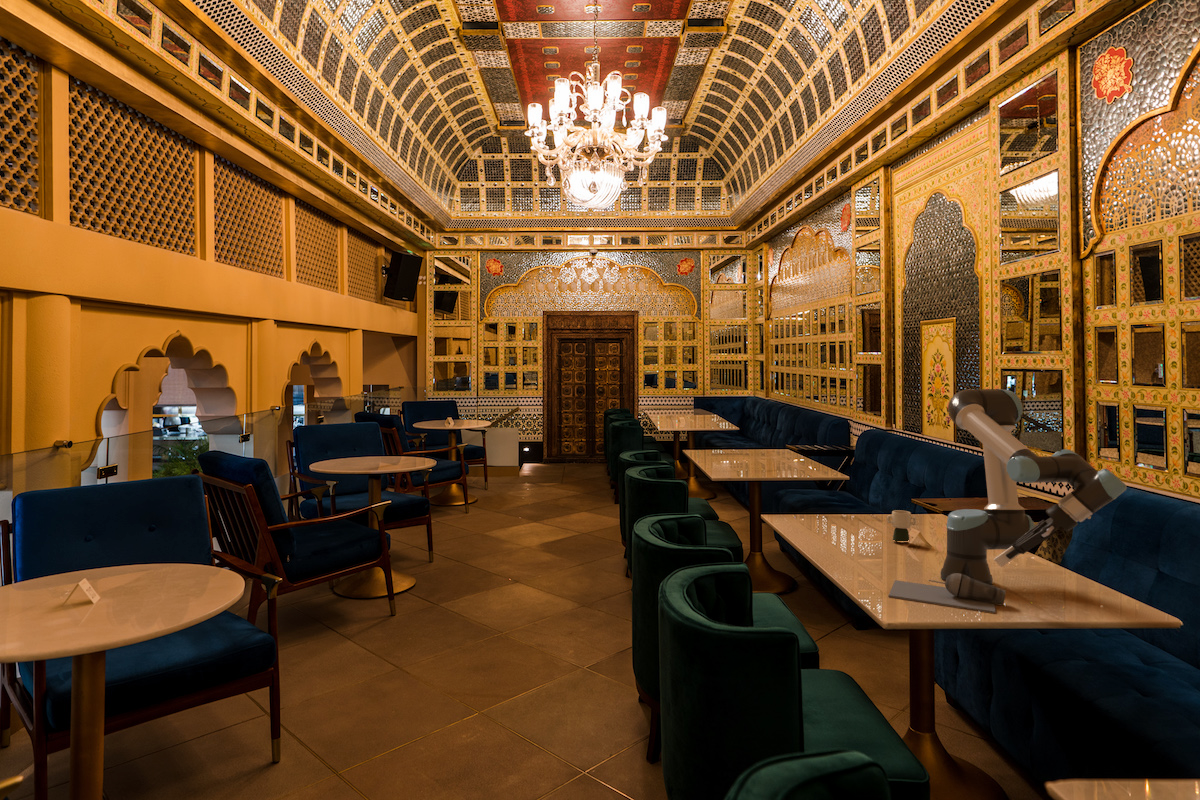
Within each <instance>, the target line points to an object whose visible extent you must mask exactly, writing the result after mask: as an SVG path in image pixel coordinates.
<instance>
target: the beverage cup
mask: <svg viewBox="0 0 1200 800" xmlns="http://www.w3.org/2000/svg"><path fill="white" fill-rule="evenodd" d="M928 582H933V583H937V584H943V585H944V587H946V589H947V590H948V591H949V592H950V593H951V594H952V595H954V596H957V597H961V598H969V599H974V600H978V601H983V602H988V603H993V604H995V605H999V606H1004V603H1005V598H1006V593H1007V592H1006V590H1005V589H1002V588H1000V587H998V586H995V585H993V584H992V585H989V584H987V583H984V582H981V581H978V580H975V579H972V578H970V577H968V576H966V575H963V574H959V573H954V574H951V575H949V576H948V577H947V578H946V581H944V582H943V581H938V580H935V579H934V580H933V579H928Z"/></svg>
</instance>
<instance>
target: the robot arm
mask: <svg viewBox="0 0 1200 800" xmlns="http://www.w3.org/2000/svg"><path fill="white" fill-rule="evenodd" d="M947 412H948V416H949V418H950V419H951V421H952V422H953V423H954V424H955V425H956V426H957V427H958V428H960V429H962V430H966V431H967V432H968V433H970V434H971V435H972V436H974V438H975V439H977V440H978V441H979V442H980V443H981V444H982V447H983V448H982V449H983V460H984V469H985V470H984V471H985V481H986V489H987V490H986V491H987V501H988V503H987V504H986V505H985V506H984V508H983V509H977V508H976V509H974V508H973V509H970V508H964V509H963V508H962V509H956V510H953V511H951V512H949V513H948V514H947V518H946V519H947V521H946V556H945V559H944V562H943V565H942V568H941V570H940V580H943V581H944V582H946V578H947V577H948V576H949V575H951V574H954V573H959V574H963V575H966V576H968V577H970V578H972V579H975V580H978V581H981V582H984V583H987V584H989V585H992V586H993V580H994V579H993V575H992V574H991V570H990V566H989V564H988V556H987V555H988V550H995V551H996V550H1004V551H1003V552H1002V553H1000V554H999V555H997V556H995V557H994V558H993V561H994V562H995V563H997V565H999V566H1000V568H1003V567H1004V566H1005V565H1007V564H1008V563H1010V562H1011V561H1013V560H1015V559H1016V557H1018V556H1019V555H1025V554H1026V553H1027V552H1028V551H1030V550H1032V549H1033V548H1035V547H1036V546H1038V545H1040V544H1042V543H1043V542H1045V541H1046V540H1048V539H1051V538H1052V537H1053V536H1054V534H1056V533H1057V530H1059V528H1062V530H1064V531H1065V532H1069V531H1071V530H1072V529H1075V527H1077V526H1078V522H1079V523H1082V522H1084V521H1085V520H1086V519H1087V520H1090V519H1091V518H1092V515H1093V514H1095V513H1096V512H1097V511H1099V510H1100V509H1102V508H1103V507H1105V506H1106V505H1108V504H1109V503H1111V502H1112V501H1114V500H1116V499H1117V498H1118V497H1119V496H1121V495H1122V494H1123V493H1124V492H1126V490H1127V489H1128V488H1127V484H1125V482H1123V481H1122V480H1121V479H1120V478H1119V477H1118V476H1116V475H1115V473H1113V472H1112V471H1110V470H1109V469H1108V468H1102V469H1100V470H1097V469H1096V468H1094V466H1092V465H1091V464H1090V463H1089V462H1087V461H1086V460H1085V459H1084V457H1082V456H1081V455H1079V454H1078V453H1076V452H1075V451H1073V450H1071V449H1067V448H1066V449H1061V450H1059V451H1058V450H1057V451H1055V452H1054V453H1053V454H1052V455H1051V456H1049V455H1047V456H1046V455H1045V456H1044V455H1043V456H1039V455H1037V453H1035V452H1033V451H1032V450H1031V449H1030V448H1028V447H1027V446H1026V445H1025V444H1023V443H1022V442H1021V441H1020V440H1018V439H1017V437H1015V436H1014V435H1013V434H1012V431H1014V430H1015V428H1016V427H1017V425H1016V423H1018V421H1020V420H1021V418H1022V415H1023V413H1024V411H1023V403H1022V400H1021V398H1019V396H1018V395H1017V394H1015V392H1014V391H1011V390H1009V389H1001V388H981V389H979V388H978V389H977V388H976V389H975V388H967V389H963V390H960V391H958V392H956V393H955V394H953V396H952V397H951V398H950V400H949V402H948V405H947ZM1017 483H1025V484H1030V483H1031V484H1033V483H1036V484H1037V483H1067V484H1069V485H1070V486H1071V487H1072V488H1073V490H1072V491H1071V492H1069V493H1067V494H1066V495H1065V496H1063V497H1062V498H1060V499H1059V500H1058V501H1057V502H1058V503H1054V504H1052V505H1051V506H1049V508H1047V509H1046V510H1045V513H1046V514H1047V516H1048V517H1049V518H1047V519H1046V520H1045V519H1042V520H1041V521H1038V523H1037V524H1036V525H1035V522H1034V520H1032V519H1033V518H1031V516H1030V515H1028V514H1026V511H1025V508H1024V507H1023V506H1021V505H1020V504H1019V497H1018V488H1017Z"/></svg>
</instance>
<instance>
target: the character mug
mask: <svg viewBox="0 0 1200 800" xmlns="http://www.w3.org/2000/svg"><path fill="white" fill-rule="evenodd" d="M890 519H891V520H890ZM912 520H913V522H912ZM886 522H887V523H888V524H891V526H892V527H894V529H893V535H892V541H893V540H895V541H908V540H909V541H910V534H909V530H908V529H909V528H910V529H911V526H916V525H917V518H916V516H912V512H910V511H907V510H900V509H899V510H898V509H897V510H896V509H895V510H892V511H891V514H888V515H887V516H886ZM895 541H894V542H895Z"/></svg>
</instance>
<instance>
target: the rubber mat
mask: <svg viewBox="0 0 1200 800" xmlns="http://www.w3.org/2000/svg"><path fill="white" fill-rule="evenodd" d="M888 598H893V599H900V600H904V601H905V600H906V601H912V602H916V603H917V602H918V603H919V602H920V603H925V604H930V605H931V604H932V605H937V606H944V607H951V608H956V607H957V608H958V609H962V608H967V609H966V610H969V609H973V610H972V611H975V610H979V611H978V612H982V611H985V612H984V613H988V612H991V613H990V614H996V604H993V603H988V602H983V601H978V600H974V599H969V598H961V597H957V596H954V595H952V594H951V593H950V592H949V591H948V590H947V589H946V587H945V586H940V585H932V584H925V583H918V582H911V581H904V580H897V579H894V582H893V583H892V586H891V588H890V591H889V593H888Z"/></svg>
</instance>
